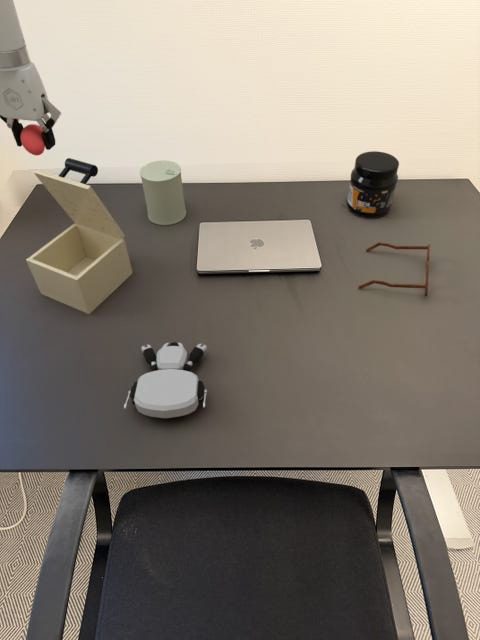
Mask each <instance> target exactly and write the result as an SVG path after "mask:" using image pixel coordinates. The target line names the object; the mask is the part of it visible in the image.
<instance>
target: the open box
mask: <svg viewBox="0 0 480 640" xmlns="http://www.w3.org/2000/svg"><path fill="white" fill-rule="evenodd" d="M25 262H26V263H27V267H28V268H29V270H30V273H31V274H32V277H33V279H34V281H35V283H36V286H37V288H38V290H39V292H40V294H41V295H42V296H45V297H47V298H49V299H51V300H54V301H56V302H58V303H61V304H64V305H66V306H68V307H70V308H73V309H75V310H78V311H80V312H83V313H85V314H87V315H91V314H92V312H94V311H95V310H96V309H97V308H98V307H99V306H100V305H102V303H104V301H105V300H107V299H108V297H110V296H111V295H112V294H113V293H114V292H115V291H116V290H117V289H118V288H119V287H120V286H122V284H124V282H125V281H126V280H127V279H129V277H131V276H132V275H133V268H132V264H131V261H130V257H129V252H128V247H127V245H126V240H125V238H123V239H122V238H119V237H116V236H114V235H111V234H108V233H105V232H102V231H99V230H96V229H93V228H90V227H87V226H84V225H82V224H79V223H76V222H73V224H71V225H70V226H69V227H67V228H66V229H65V230H64V231H62V232H61V233H60V234H58V235H57V236H55V237H54V238H53V239H51V240H50V241H49V242H47V243H46V244H45V245H44V246H42V247H41V248H39V249H38V250H37V251H36V252H34V253H33V254H32V255H30V256H29V257H27V258H26V259H25Z"/></svg>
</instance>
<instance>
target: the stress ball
mask: <svg viewBox="0 0 480 640" xmlns="http://www.w3.org/2000/svg"><path fill="white" fill-rule="evenodd" d="M42 131H43V130H42V128H41V127H40V125H39V124H35V123H31V124H27V125H25V126H23V130H22V132H21V136H20V138H21V143H22V147H23V148H24V150H25V151H26V152H27V153H29V154H31V155H33V156H41V155H43V154H44V152H45V150H46V148H45V144H44V141H43V138H42V135H41V132H42Z"/></svg>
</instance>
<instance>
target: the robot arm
mask: <svg viewBox="0 0 480 640" xmlns="http://www.w3.org/2000/svg"><path fill="white" fill-rule="evenodd" d="M49 114H50V116H49ZM61 115H62V112H61V111H60V110H59V109H58V108H57V106H55V105H54V104H52V102H50V100H49V97H48V94H47V91H46V88H45V85H44V83H43V80H42V77H41V75H40V73H39V71H38V69H37V67H36V65H35V63H34V62H32V61H31V57H30V54H29V50H28V47H27V43H26V41H25V37H24V34H23V30H22V26H21V23H20V19H19V15H18V12H17V9H16V6H15V2H14V0H0V119H1V120H2V121H3V122H4V124H6V126H7V128H8V129H10V130H11V132H12V136H13V138H14V141H15V143H16V146H17V147H19V148H20V147H23V145H22V143H21V138H20V136H21V132H22V130H23V128H24V126H23V123H22V122H20V121H21V120H22V121H30V122H31V121H32V122H37V125H39V126H40V127H41V128H42V130H43V131H42V132H41V135H42V138H43V141H44V144H45V150H47V151H50V150H51V149H52V148H54V146H56V138H55V137H56V136H55V133H54V131H53V127H54V126H55V124H56V123H57V122H58V120H59V118H60V117H61Z"/></svg>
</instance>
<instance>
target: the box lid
mask: <svg viewBox="0 0 480 640" xmlns="http://www.w3.org/2000/svg"><path fill="white" fill-rule="evenodd" d="M70 171H72V172H75V173H79V174H82V175H84V176H83V177H82V179H81V180H80V181H79V182H78V181H76V180H73V179H69V178H66V176H67V175H68V174H69V172H70ZM98 172H99V168H98V166H97V165H95V164H92V163H88V162H85V161H81V160H78V159H74V158H71V157H68V158H66V159H65V160H64V168H63V169H62V171H61V172H60V173H59V175H56V174H53V173H50V172H47V171H43V170H39V169H37V168H36V169H35V170H34V171H33V174H34V176H35V177H36V178H37V179H38V180H39V181H40V183H41V184H42V185H43V186H44V188H45V189H46V190H47V191H48V192H49V193H50V195H51V196H52V197H53V198H54V199H55V201H56V202H57V203H58V204H59V205H60V207H61V208H62V209H63V210H64V212H65V213H66V214H67V215H68V217H69V218H70V219H71V221H73V223H78V224H81V225H84V226H87V227H90V228H93V229H96V230H99V231H102V232H105V233H108V234H110V235H113V236H116V237H119V238H122V239H125V236H126V235H125V233H124V231H122V229H121V228H120V226H119V225H118V223H117V221H116V220H115V219H114V217H113V216H112V214H111V213H110V212H109V210H108V209H107V207H106V206H105V205H104V203H103V202H102V200H101V199H100V197H99V196H98V195H97V193H96V192H95V190H94V189H93V187H92V186H91V185H89V184H88V182H89V181H90V179H91V177H92V178H95V177H97V175H98Z"/></svg>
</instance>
